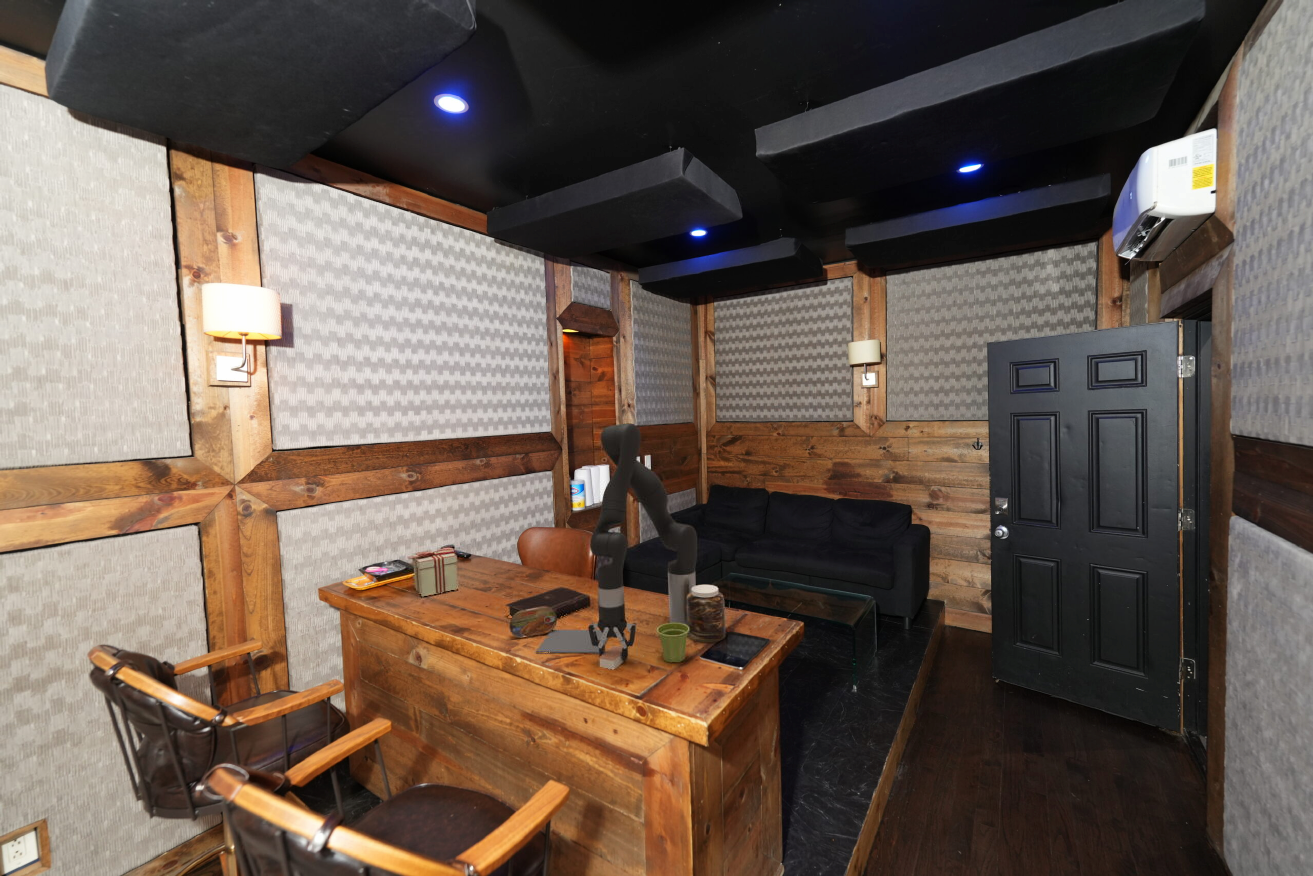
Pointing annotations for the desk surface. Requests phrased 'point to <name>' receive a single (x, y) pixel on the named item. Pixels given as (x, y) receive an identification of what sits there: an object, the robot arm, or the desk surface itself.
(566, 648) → the mat
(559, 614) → the diary
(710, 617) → the jar
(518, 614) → the tin
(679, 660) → the plant pot
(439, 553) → the gift box
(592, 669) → the desk surface
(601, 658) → the block
